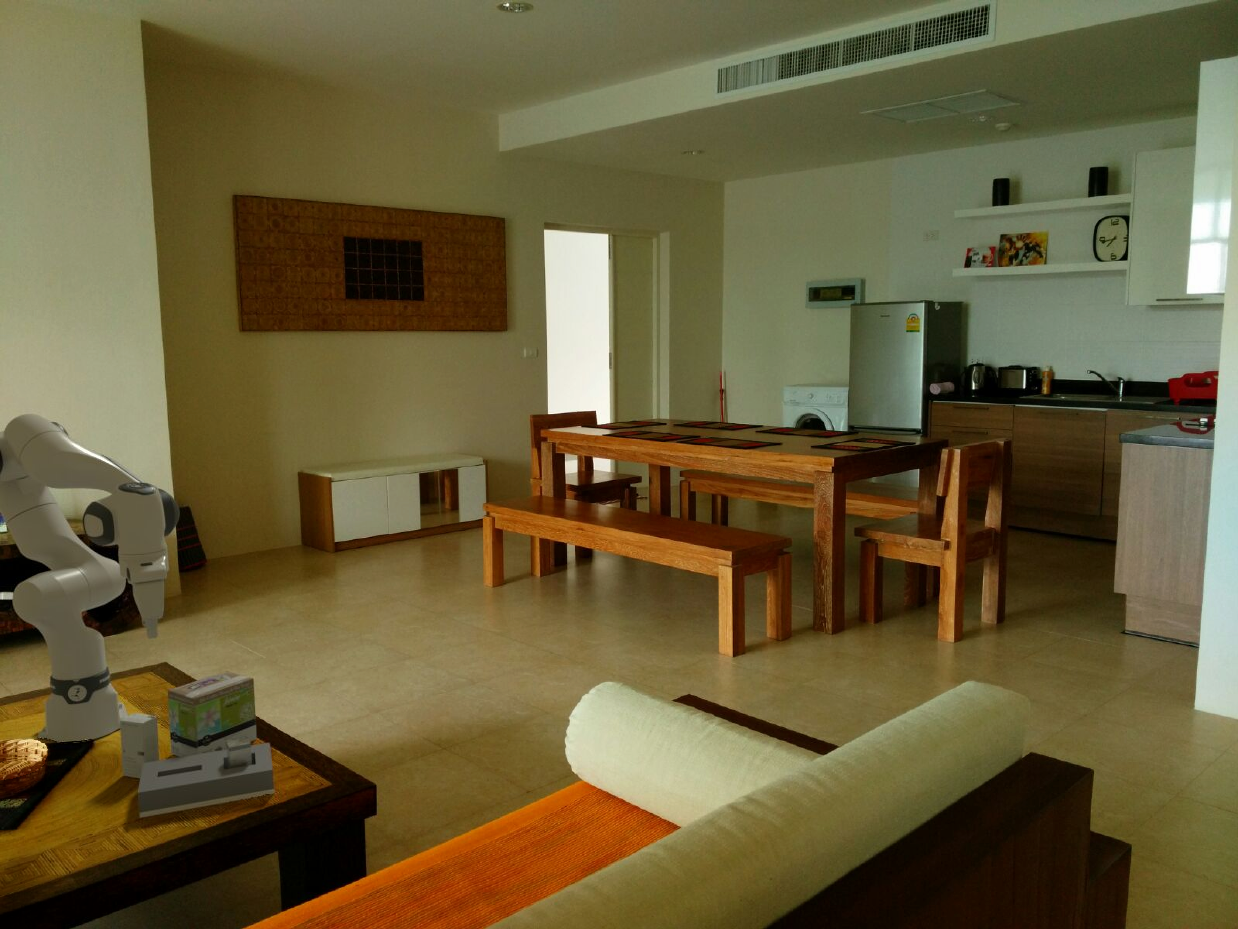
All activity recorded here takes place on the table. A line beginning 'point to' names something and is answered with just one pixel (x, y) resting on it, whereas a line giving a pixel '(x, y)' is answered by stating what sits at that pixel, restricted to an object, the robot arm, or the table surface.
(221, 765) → the caddy
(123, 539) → the robot arm
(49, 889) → the table surface
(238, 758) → the grey square-topped block
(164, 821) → the table surface
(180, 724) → the tea box
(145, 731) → the skincare box
